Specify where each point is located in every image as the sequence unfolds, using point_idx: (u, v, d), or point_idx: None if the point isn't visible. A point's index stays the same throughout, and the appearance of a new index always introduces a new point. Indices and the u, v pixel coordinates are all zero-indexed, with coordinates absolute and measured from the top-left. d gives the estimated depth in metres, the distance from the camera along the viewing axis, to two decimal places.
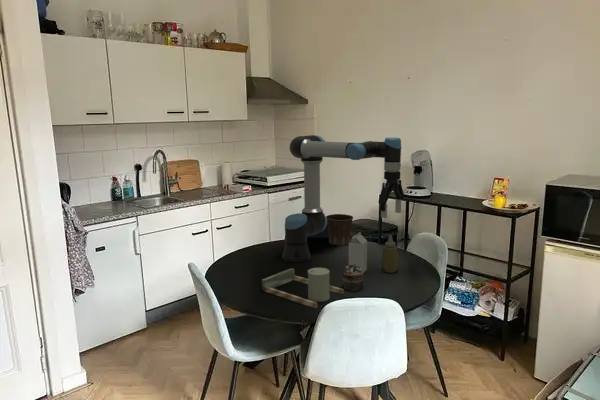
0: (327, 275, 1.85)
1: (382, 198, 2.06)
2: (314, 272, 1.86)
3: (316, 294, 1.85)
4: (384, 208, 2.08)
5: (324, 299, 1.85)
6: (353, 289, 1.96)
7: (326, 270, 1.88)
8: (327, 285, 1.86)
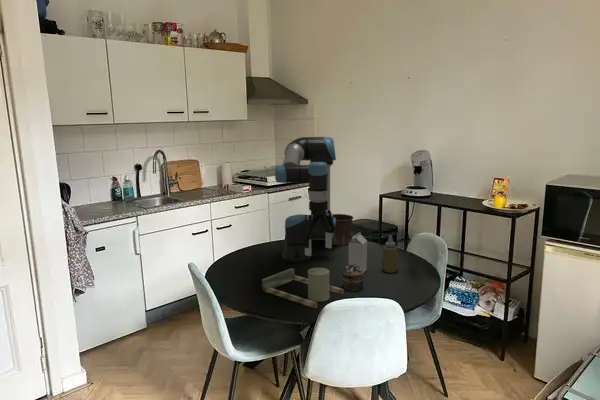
0: (327, 275, 1.85)
1: (304, 233, 1.77)
2: (314, 272, 1.86)
3: (316, 294, 1.85)
4: (307, 244, 1.78)
5: (324, 299, 1.85)
6: (353, 289, 1.96)
7: (326, 270, 1.88)
8: (327, 285, 1.86)
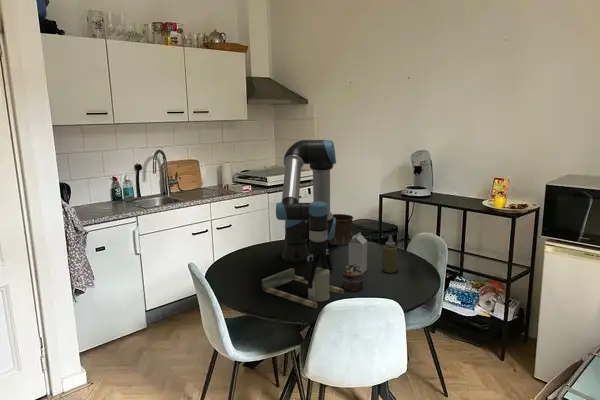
0: (327, 275, 1.85)
1: (307, 275, 1.81)
2: None
3: (316, 293, 1.85)
4: (311, 285, 1.83)
5: (324, 299, 1.85)
6: (353, 289, 1.96)
7: (326, 270, 1.88)
8: (327, 285, 1.86)
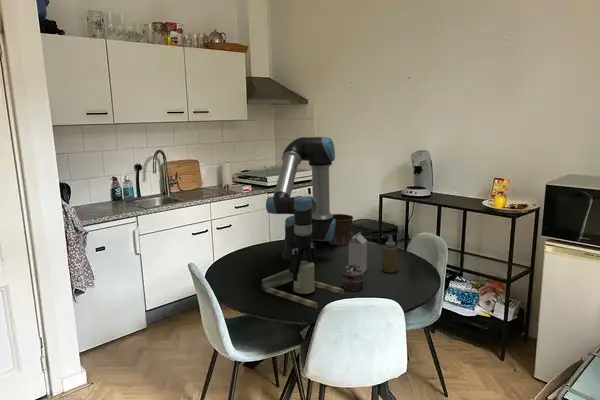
0: (312, 268, 1.90)
1: (292, 268, 1.86)
2: None
3: (301, 286, 1.90)
4: (296, 278, 1.88)
5: (309, 291, 1.91)
6: (353, 289, 1.96)
7: (311, 263, 1.93)
8: (312, 278, 1.91)
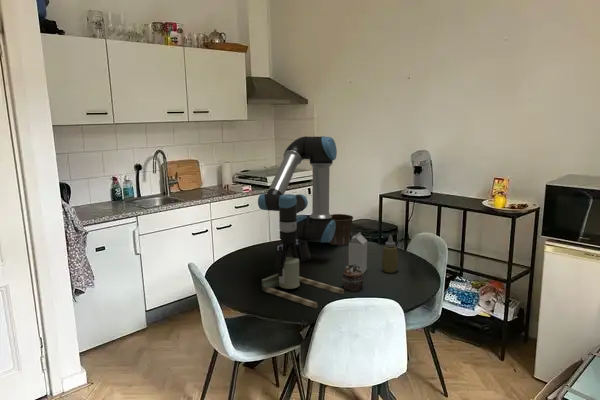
0: (296, 264, 1.95)
1: (277, 263, 1.92)
2: None
3: (285, 281, 1.95)
4: (281, 273, 1.94)
5: (294, 286, 1.96)
6: (353, 289, 1.96)
7: (296, 259, 1.99)
8: (296, 273, 1.96)
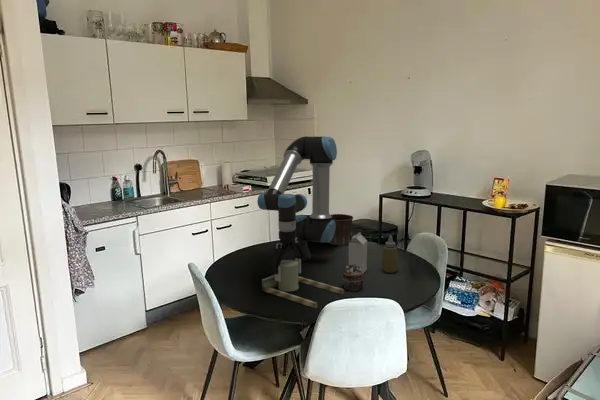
0: (295, 266, 1.96)
1: (273, 261, 1.90)
2: (283, 264, 1.97)
3: (285, 284, 1.96)
4: (277, 271, 1.92)
5: (293, 289, 1.96)
6: (353, 289, 1.96)
7: (295, 262, 1.99)
8: (296, 276, 1.97)
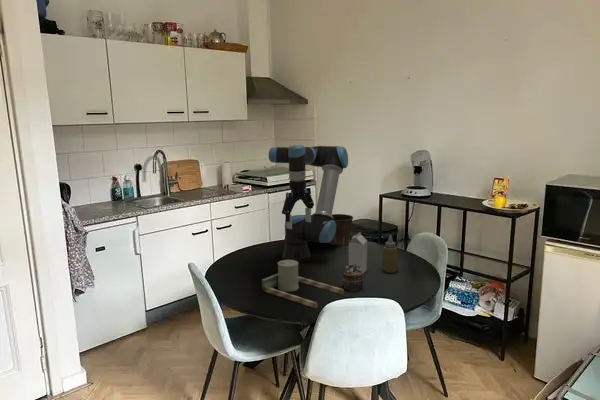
0: (295, 266, 1.96)
1: (285, 209, 1.99)
2: (283, 264, 1.97)
3: (285, 284, 1.96)
4: (288, 219, 2.01)
5: (293, 289, 1.96)
6: (353, 289, 1.96)
7: (295, 262, 1.99)
8: (296, 276, 1.97)
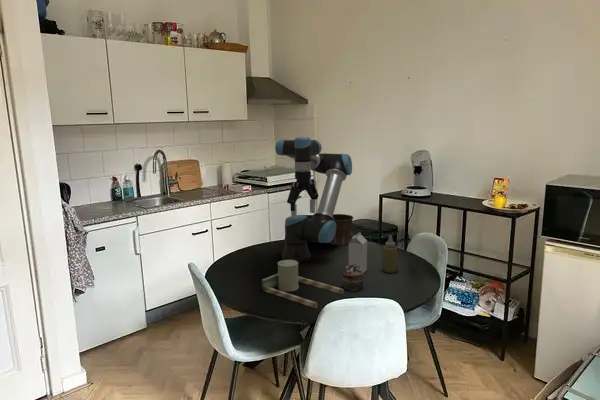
0: (295, 266, 1.96)
1: (290, 198, 2.05)
2: (283, 264, 1.97)
3: (285, 284, 1.96)
4: (293, 208, 2.06)
5: (293, 289, 1.96)
6: (353, 289, 1.96)
7: (295, 262, 1.99)
8: (295, 276, 1.97)
